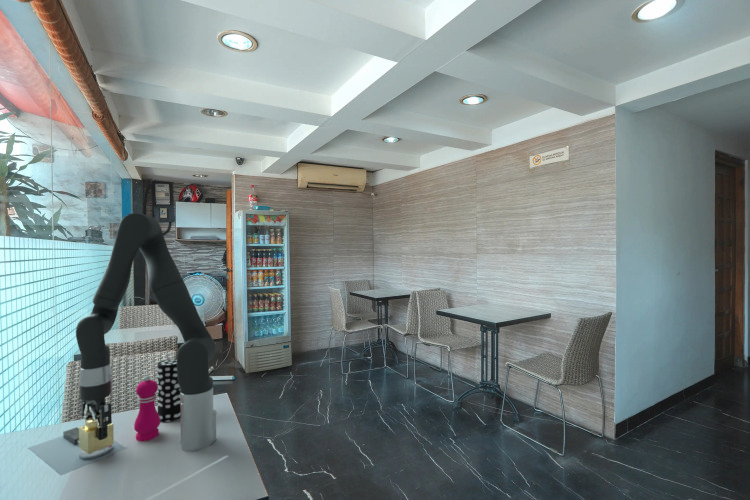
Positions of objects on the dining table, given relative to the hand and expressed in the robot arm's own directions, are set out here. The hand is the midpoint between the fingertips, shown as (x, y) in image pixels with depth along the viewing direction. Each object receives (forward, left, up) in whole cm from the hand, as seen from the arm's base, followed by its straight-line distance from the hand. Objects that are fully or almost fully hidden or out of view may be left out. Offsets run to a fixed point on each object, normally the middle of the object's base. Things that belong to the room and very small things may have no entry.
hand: (96, 434), depth 110 cm
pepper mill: (-13, +3, -6) cm, 15 cm away
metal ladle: (0, -8, -5) cm, 9 cm away
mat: (+2, -8, -6) cm, 10 cm away
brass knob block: (0, 0, -3) cm, 3 cm away
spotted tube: (-25, -5, -6) cm, 26 cm away
